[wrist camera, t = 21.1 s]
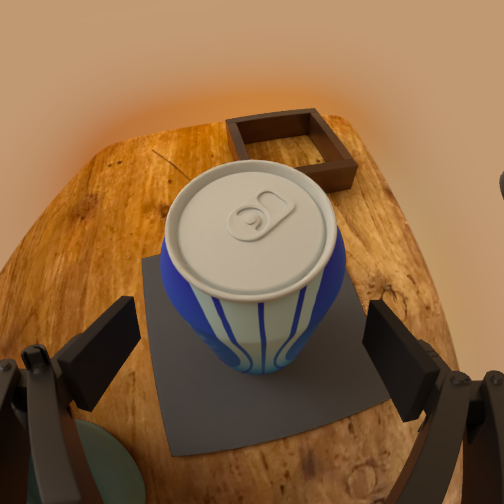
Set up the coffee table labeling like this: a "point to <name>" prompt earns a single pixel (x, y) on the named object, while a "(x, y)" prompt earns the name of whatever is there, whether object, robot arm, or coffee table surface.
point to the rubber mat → (255, 378)
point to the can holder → (295, 124)
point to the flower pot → (102, 468)
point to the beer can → (253, 261)
